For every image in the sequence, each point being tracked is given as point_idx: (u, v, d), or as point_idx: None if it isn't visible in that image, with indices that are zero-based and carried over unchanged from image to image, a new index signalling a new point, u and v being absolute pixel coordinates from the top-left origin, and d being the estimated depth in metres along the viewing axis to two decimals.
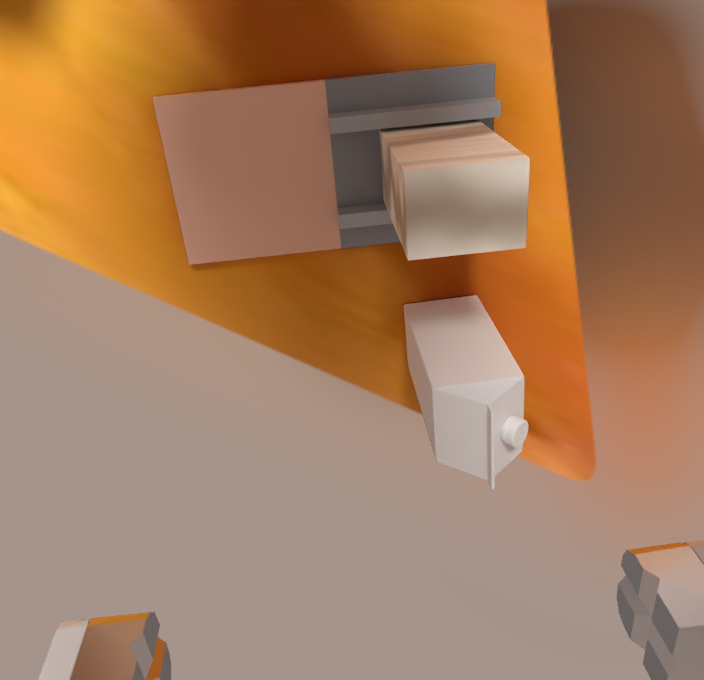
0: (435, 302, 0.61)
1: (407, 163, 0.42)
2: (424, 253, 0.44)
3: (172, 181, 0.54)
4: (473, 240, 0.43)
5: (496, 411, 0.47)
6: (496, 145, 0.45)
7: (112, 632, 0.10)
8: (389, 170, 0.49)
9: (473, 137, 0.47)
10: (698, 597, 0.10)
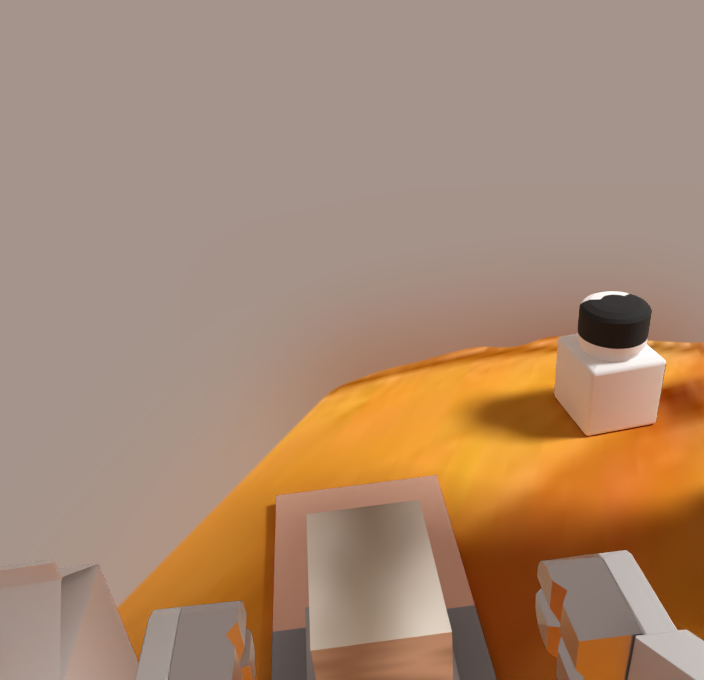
0: None
1: None
2: (313, 529, 0.33)
3: (361, 485, 0.56)
4: (327, 579, 0.30)
5: (35, 602, 0.28)
6: None
7: (206, 620, 0.10)
8: None
9: None
10: (601, 610, 0.10)
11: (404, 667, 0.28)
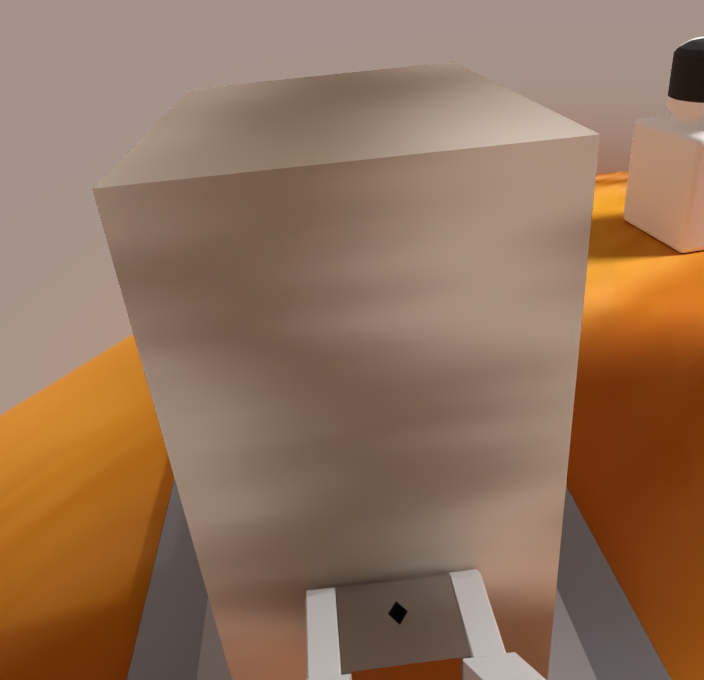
0: None
1: None
2: (197, 95, 0.14)
3: None
4: (206, 122, 0.11)
5: None
6: None
7: (364, 599, 0.10)
8: None
9: None
10: (436, 633, 0.10)
11: (428, 304, 0.09)
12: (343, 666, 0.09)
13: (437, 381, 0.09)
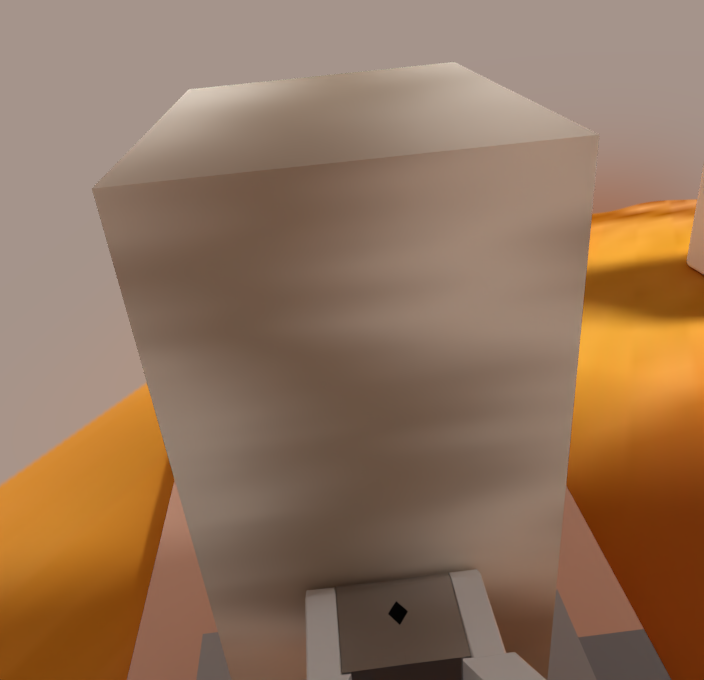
0: None
1: None
2: (198, 95, 0.14)
3: None
4: (205, 122, 0.11)
5: None
6: None
7: (364, 600, 0.10)
8: None
9: None
10: (436, 633, 0.10)
11: (428, 304, 0.09)
12: (343, 666, 0.09)
13: (436, 382, 0.09)
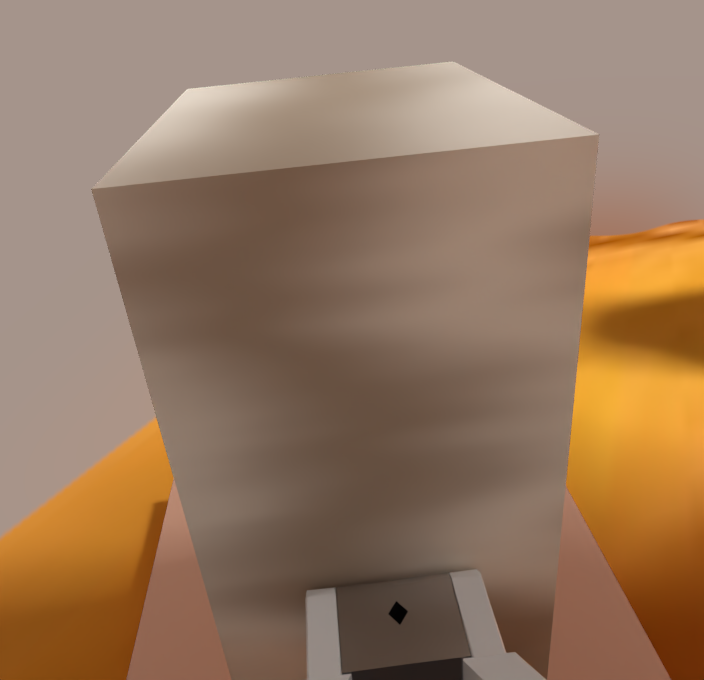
0: None
1: None
2: (196, 95, 0.14)
3: None
4: (205, 122, 0.11)
5: None
6: None
7: (364, 599, 0.10)
8: None
9: None
10: (436, 632, 0.10)
11: (428, 305, 0.09)
12: (343, 666, 0.09)
13: (436, 382, 0.09)
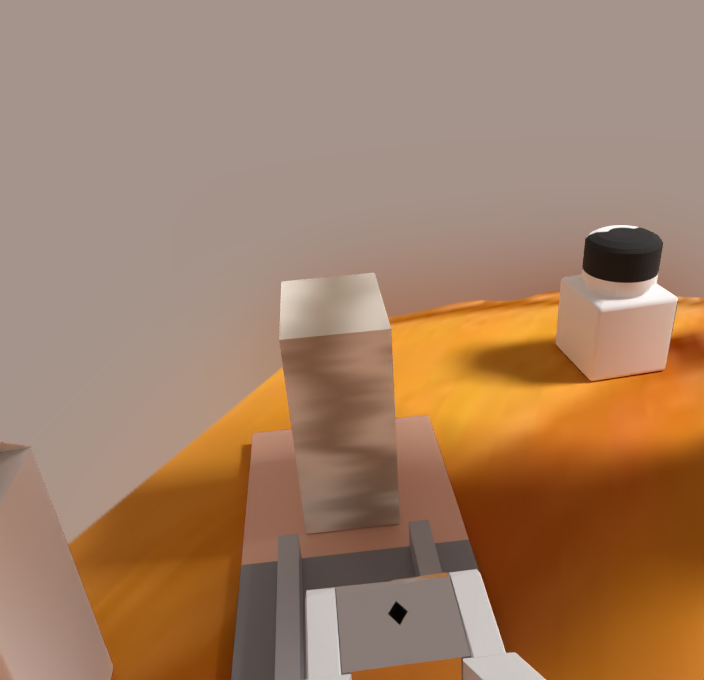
0: None
1: None
2: (287, 288, 0.41)
3: None
4: (296, 309, 0.38)
5: None
6: None
7: (364, 600, 0.10)
8: None
9: None
10: (436, 633, 0.10)
11: (354, 364, 0.36)
12: (343, 666, 0.09)
13: (357, 383, 0.36)
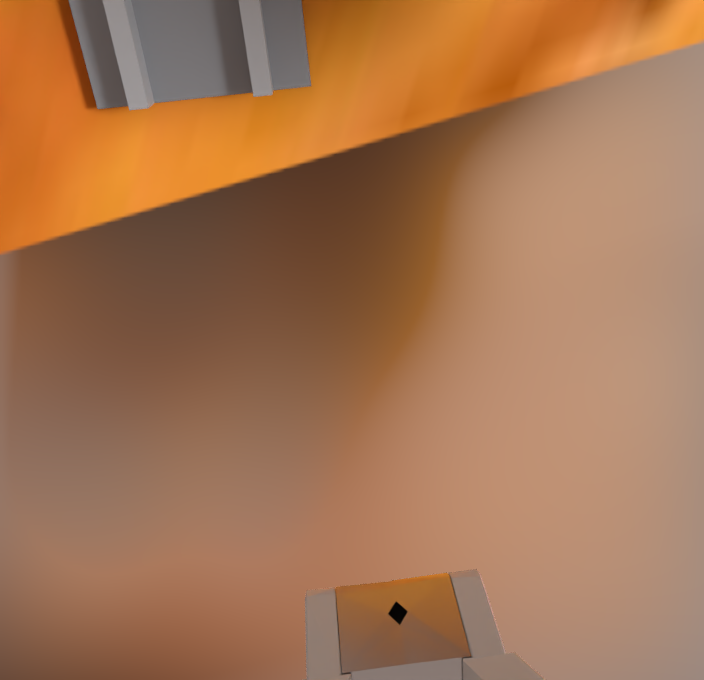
0: None
1: None
2: None
3: None
4: None
5: None
6: None
7: (364, 599, 0.10)
8: None
9: None
10: (436, 632, 0.10)
11: None
12: (343, 666, 0.09)
13: None
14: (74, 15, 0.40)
